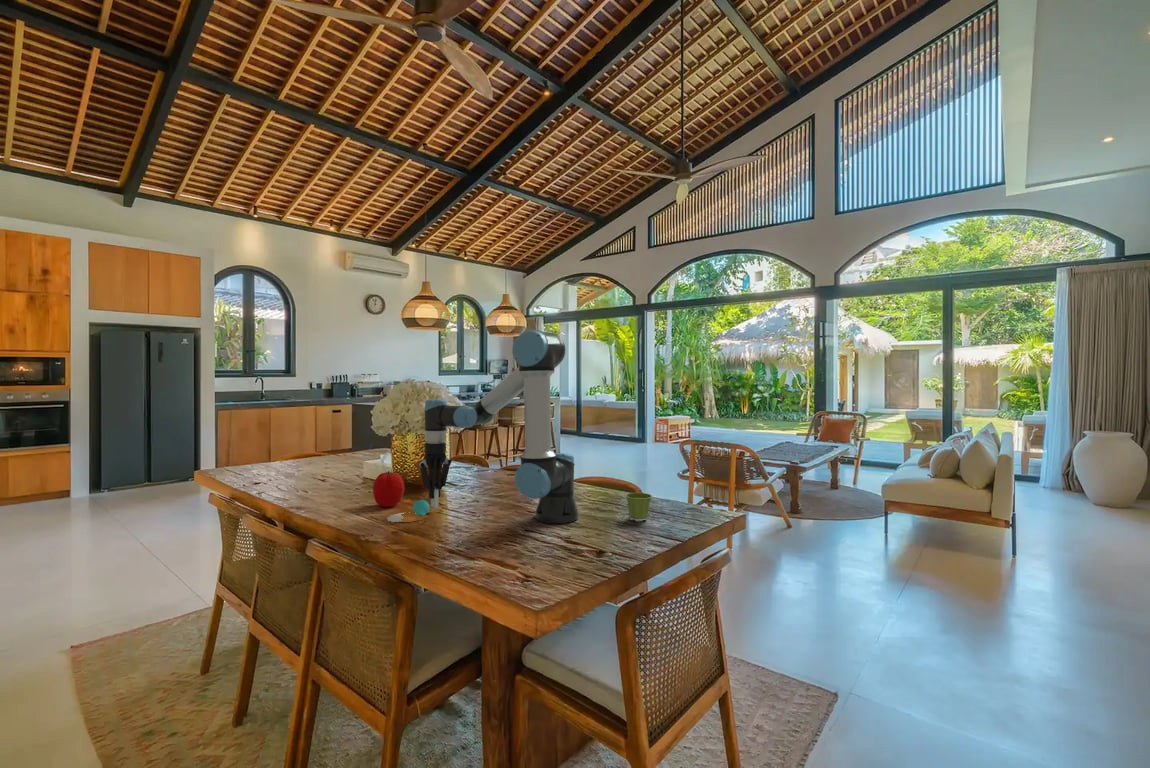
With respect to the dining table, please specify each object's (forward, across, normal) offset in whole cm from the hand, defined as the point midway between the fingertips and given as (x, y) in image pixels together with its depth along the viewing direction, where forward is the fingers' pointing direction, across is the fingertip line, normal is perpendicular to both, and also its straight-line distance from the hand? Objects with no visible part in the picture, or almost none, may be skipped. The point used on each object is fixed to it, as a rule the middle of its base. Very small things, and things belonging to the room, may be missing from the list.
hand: (434, 506), depth 192 cm
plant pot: (+2, -46, +57) cm, 73 cm away
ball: (-1, +6, 0) cm, 6 cm away
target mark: (+2, +11, 0) cm, 11 cm away
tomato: (+2, +8, -19) cm, 21 cm away
